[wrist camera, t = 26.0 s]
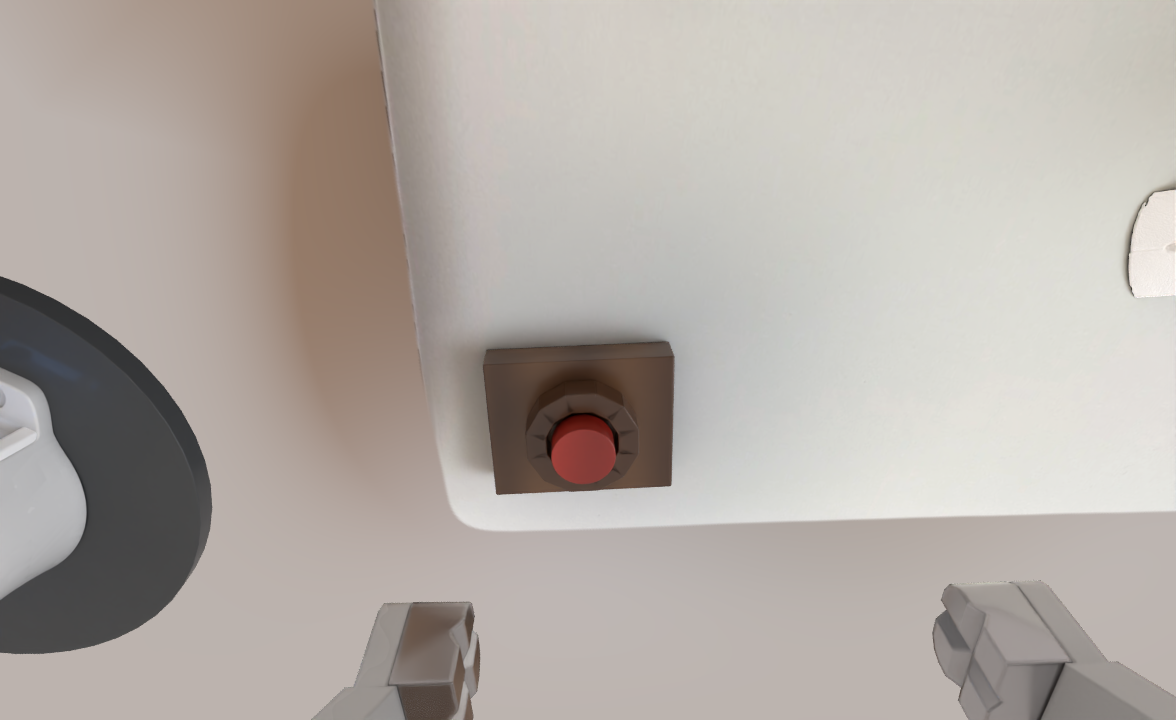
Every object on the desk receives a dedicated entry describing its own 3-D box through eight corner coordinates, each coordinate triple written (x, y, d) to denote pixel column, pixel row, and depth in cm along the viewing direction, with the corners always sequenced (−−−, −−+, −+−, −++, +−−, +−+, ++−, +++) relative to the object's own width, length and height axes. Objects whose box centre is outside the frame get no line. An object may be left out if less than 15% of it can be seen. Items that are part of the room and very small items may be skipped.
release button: (553, 468, 41) (552, 486, 39) (549, 415, 39) (549, 431, 37) (613, 465, 41) (616, 482, 39) (613, 412, 39) (615, 428, 38)
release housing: (498, 475, 45) (493, 513, 41) (486, 349, 41) (479, 378, 37) (666, 467, 45) (676, 504, 42) (669, 341, 41) (679, 370, 38)
